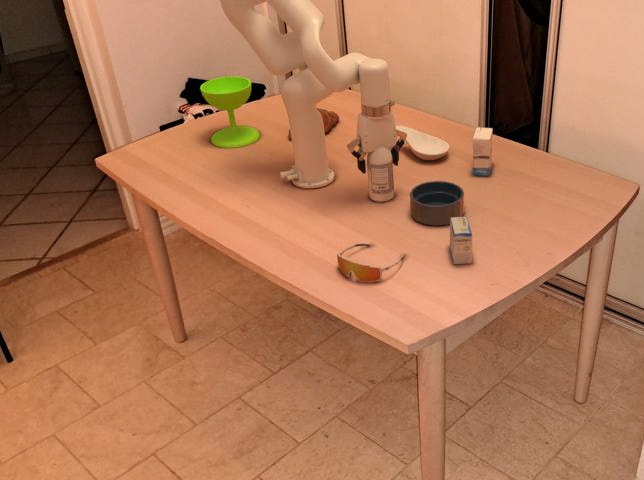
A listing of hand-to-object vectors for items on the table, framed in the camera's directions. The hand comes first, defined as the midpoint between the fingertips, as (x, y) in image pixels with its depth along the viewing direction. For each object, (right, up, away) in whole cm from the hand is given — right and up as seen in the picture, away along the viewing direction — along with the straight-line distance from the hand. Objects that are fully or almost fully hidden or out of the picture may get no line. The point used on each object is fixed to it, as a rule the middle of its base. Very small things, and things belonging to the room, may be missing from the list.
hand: (378, 167), depth 193 cm
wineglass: (-50, +16, +42) cm, 67 cm away
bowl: (+16, -13, -4) cm, 21 cm away
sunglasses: (-1, -27, -23) cm, 36 cm away
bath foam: (+1, -8, +5) cm, 9 cm away
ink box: (+30, +2, +17) cm, 34 cm away
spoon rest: (+10, +9, +28) cm, 31 cm away
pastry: (-24, +19, +45) cm, 54 cm away
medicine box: (+21, -25, -21) cm, 39 cm away
